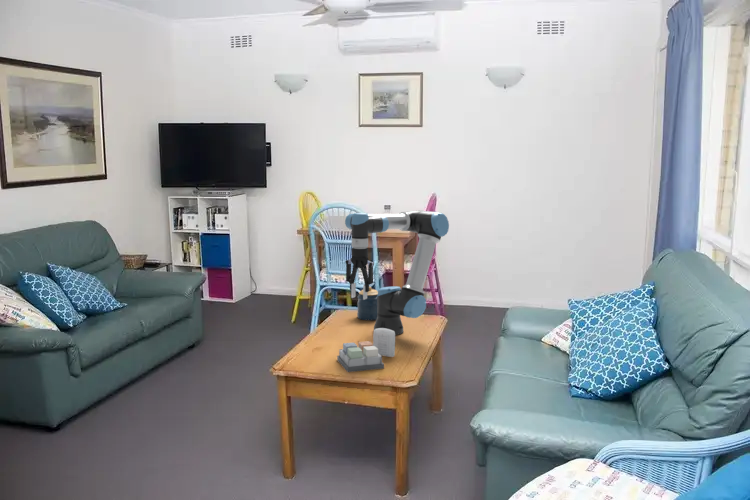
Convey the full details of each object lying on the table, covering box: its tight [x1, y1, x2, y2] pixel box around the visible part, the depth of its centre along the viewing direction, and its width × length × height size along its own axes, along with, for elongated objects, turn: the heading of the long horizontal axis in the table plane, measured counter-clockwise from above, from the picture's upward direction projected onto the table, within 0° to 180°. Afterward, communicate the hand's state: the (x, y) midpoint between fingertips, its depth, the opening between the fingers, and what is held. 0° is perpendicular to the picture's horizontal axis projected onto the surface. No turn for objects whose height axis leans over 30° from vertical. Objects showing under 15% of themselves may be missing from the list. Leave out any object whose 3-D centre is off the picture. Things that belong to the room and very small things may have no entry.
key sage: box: [348, 346, 362, 359], centre depth 261 cm, size 5×5×4 cm
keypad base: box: [336, 348, 385, 373], centre depth 266 cm, size 16×16×5 cm
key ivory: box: [363, 346, 378, 357], centre depth 264 cm, size 5×5×4 cm
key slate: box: [342, 342, 358, 354], centre depth 268 cm, size 5×5×4 cm
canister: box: [356, 285, 378, 321], centre depth 343 cm, size 13×13×18 cm
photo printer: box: [372, 328, 396, 358], centre depth 279 cm, size 10×4×12 cm, turn 69°
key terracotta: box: [357, 340, 373, 352], centre depth 270 cm, size 5×5×4 cm
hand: (359, 298), depth 281 cm, fingers open, 5 cm apart
